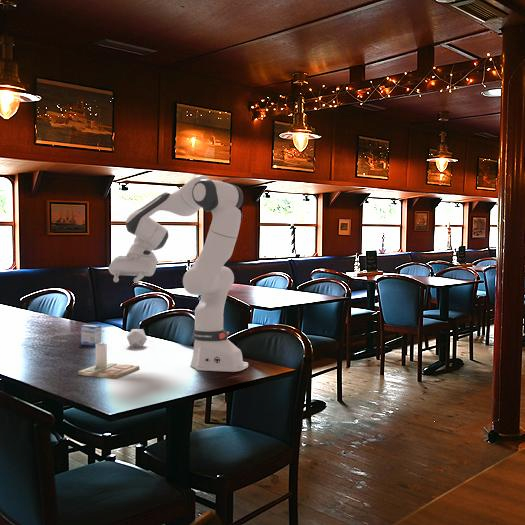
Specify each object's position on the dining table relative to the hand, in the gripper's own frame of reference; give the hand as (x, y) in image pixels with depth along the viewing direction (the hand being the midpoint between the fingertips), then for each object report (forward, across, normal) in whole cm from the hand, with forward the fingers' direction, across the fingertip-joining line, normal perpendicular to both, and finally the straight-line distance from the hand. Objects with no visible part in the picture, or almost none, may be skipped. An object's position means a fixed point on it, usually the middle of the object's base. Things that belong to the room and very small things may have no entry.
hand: (125, 281), depth 257 cm
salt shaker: (+38, +5, +4) cm, 39 cm away
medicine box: (+8, -30, +36) cm, 48 cm away
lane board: (+39, +8, +5) cm, 41 cm away
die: (+6, -8, +38) cm, 40 cm away
